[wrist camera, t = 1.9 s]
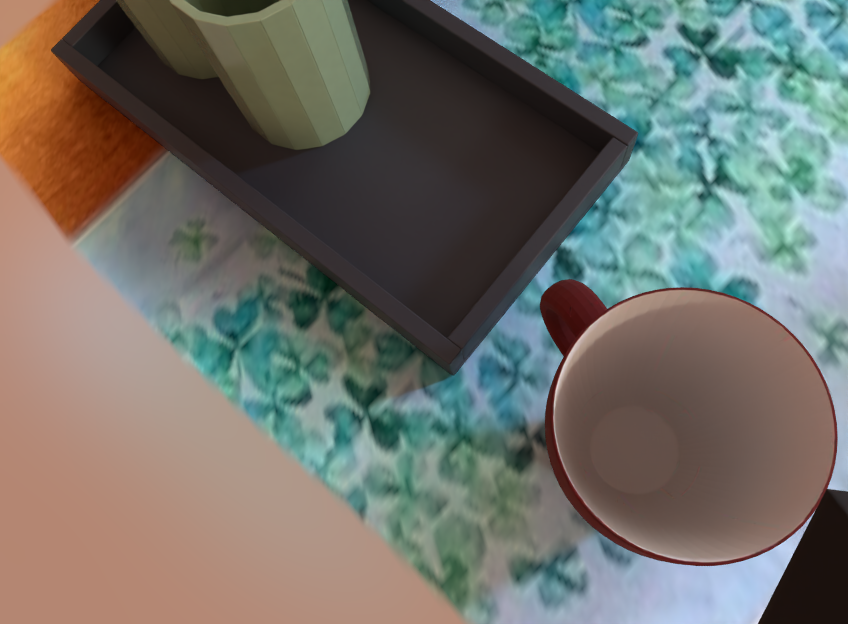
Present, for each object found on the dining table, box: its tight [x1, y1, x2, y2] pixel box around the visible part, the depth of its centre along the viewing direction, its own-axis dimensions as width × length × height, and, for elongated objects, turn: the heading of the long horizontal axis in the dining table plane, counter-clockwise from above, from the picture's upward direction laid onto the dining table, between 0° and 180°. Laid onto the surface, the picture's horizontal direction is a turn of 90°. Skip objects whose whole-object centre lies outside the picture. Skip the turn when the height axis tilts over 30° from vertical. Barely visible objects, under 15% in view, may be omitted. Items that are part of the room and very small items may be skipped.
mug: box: [540, 279, 837, 566], centre depth 26 cm, size 10×8×10 cm
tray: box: [51, 0, 638, 376], centre depth 35 cm, size 13×25×3 cm, turn 50°
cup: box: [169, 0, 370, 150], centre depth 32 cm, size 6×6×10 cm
